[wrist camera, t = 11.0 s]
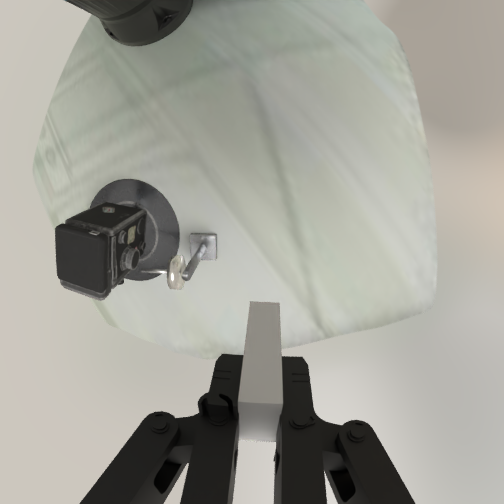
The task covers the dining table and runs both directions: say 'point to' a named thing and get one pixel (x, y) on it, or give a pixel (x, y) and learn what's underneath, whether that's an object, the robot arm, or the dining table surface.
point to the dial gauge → (200, 250)
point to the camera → (99, 248)
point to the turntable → (157, 225)
